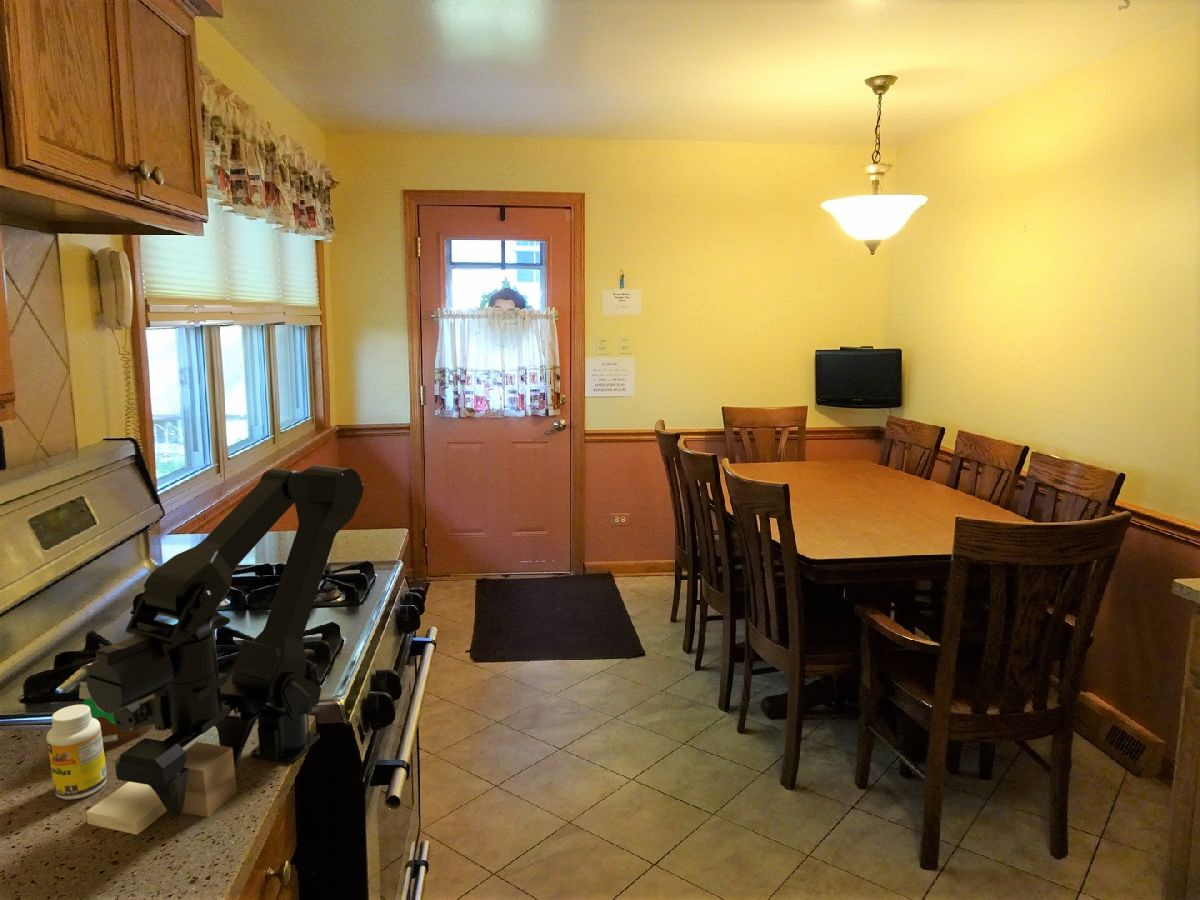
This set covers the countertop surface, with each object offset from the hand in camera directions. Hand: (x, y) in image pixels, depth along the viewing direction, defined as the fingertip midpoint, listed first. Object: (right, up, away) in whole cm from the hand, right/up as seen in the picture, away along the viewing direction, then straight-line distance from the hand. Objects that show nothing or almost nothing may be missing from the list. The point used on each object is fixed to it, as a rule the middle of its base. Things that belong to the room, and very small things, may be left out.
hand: (204, 792), depth 99 cm
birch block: (-7, -2, -1) cm, 8 cm away
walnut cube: (0, -1, 0) cm, 1 cm away
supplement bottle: (-16, -1, +3) cm, 17 cm away
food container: (-17, +2, +16) cm, 24 cm away
